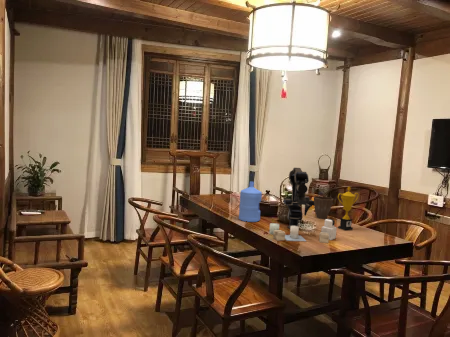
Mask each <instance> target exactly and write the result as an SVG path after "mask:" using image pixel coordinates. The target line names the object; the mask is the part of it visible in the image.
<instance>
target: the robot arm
mask: <svg viewBox="0 0 450 337" xmlns="http://www.w3.org/2000/svg"><path fill="white" fill-rule="evenodd" d="M288 180H289V184H290V186H291V198H284V199H283V204H284V205H286V206H287V209H288V213H287V219H288V220H289V225H288V226H287V228H289V229H290V227H291V226H292V225H294V226H299V221H302V217H303V216H305V217H306V216H307V213H308V212H309V209H310V208H312V207H314V204H315V203H314V199H311V198H310V197H309V196H306V194H307V191H308V186H307V184H308V183H309V174H308V173H307V171H302V168H301V167H293V168H292V170H290V171H289V174H288ZM301 205H304V211H303V212H304V215H303V213H302V208H301Z"/></svg>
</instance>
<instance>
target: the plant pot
mask: <svg viewBox="0 0 450 337" xmlns="http://www.w3.org/2000/svg"><path fill="white" fill-rule="evenodd" d="M313 201H314V203H315V204H314V206H313V207H314V212H315V216H316V218H317V219H321V220H325V219H328V216H329V214H330V211H331V209H332V206H333V202H334V198H333V197H329V196H320V195H315V196H313Z"/></svg>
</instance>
